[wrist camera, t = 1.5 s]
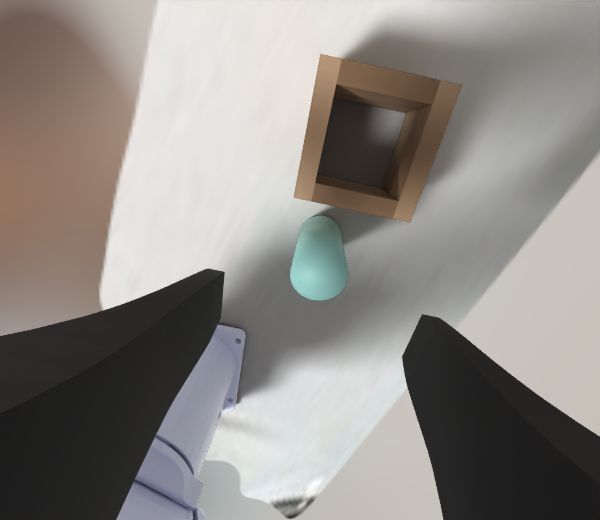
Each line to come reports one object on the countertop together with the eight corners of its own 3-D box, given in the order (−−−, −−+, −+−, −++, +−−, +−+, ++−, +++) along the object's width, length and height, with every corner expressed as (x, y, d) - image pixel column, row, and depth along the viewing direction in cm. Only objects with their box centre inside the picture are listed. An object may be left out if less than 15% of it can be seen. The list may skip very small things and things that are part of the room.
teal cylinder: (334, 258, 19) (339, 305, 14) (296, 250, 19) (285, 294, 14) (345, 220, 18) (355, 255, 13) (303, 211, 18) (295, 243, 13)
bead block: (391, 205, 17) (410, 222, 14) (299, 185, 17) (293, 197, 14) (428, 98, 15) (462, 84, 11) (320, 74, 15) (320, 53, 11)
